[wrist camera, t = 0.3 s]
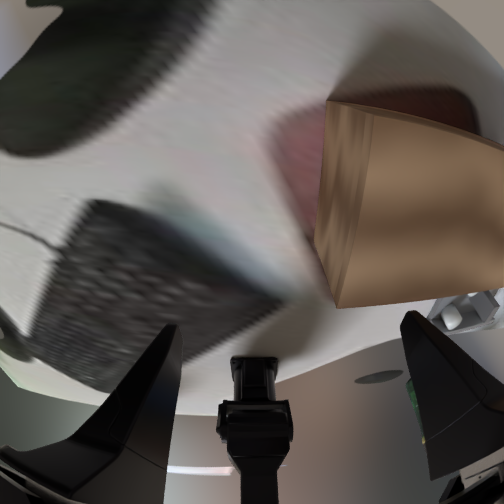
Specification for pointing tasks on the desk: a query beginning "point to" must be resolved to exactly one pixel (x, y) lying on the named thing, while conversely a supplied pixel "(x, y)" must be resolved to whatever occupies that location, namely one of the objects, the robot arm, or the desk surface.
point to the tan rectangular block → (407, 208)
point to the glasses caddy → (464, 311)
